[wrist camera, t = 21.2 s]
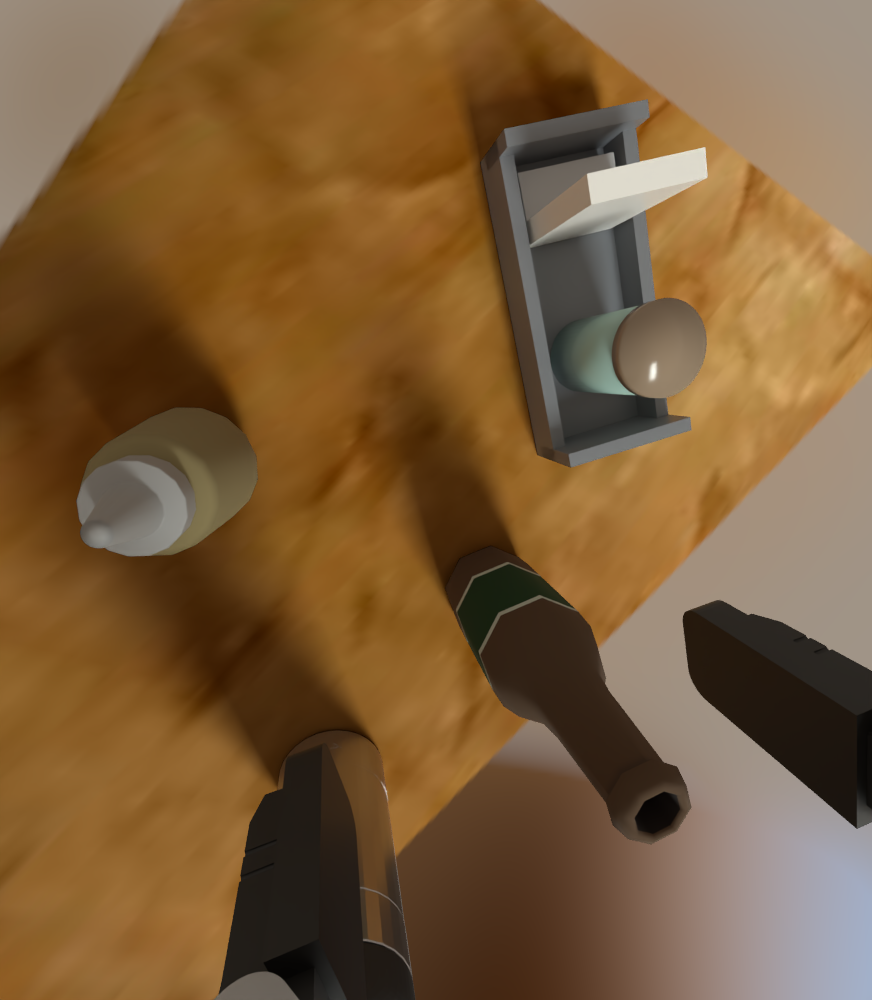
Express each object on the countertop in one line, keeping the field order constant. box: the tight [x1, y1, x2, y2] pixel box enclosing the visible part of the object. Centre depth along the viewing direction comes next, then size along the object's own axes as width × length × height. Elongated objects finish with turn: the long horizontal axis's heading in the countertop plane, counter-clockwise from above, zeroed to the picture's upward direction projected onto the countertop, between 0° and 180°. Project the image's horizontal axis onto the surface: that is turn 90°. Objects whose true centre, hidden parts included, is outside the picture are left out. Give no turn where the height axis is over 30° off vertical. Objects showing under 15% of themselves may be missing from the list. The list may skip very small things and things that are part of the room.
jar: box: [550, 298, 707, 398], centre depth 34 cm, size 6×6×10 cm
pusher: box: [517, 147, 708, 248], centre depth 31 cm, size 4×7×10 cm, turn 104°
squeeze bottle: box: [76, 408, 258, 556], centre depth 28 cm, size 8×8×18 cm
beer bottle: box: [445, 546, 691, 844], centre depth 32 cm, size 8×8×24 cm
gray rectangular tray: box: [480, 99, 691, 467], centre depth 36 cm, size 22×10×6 cm, turn 14°
